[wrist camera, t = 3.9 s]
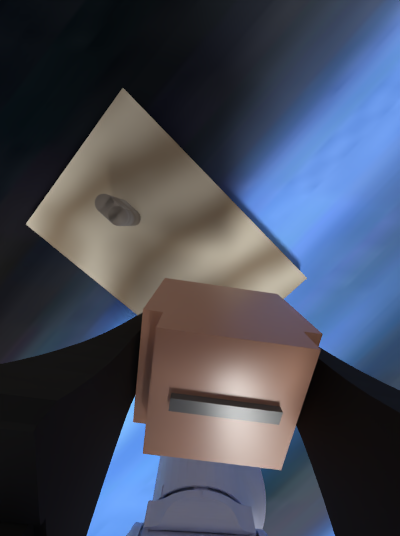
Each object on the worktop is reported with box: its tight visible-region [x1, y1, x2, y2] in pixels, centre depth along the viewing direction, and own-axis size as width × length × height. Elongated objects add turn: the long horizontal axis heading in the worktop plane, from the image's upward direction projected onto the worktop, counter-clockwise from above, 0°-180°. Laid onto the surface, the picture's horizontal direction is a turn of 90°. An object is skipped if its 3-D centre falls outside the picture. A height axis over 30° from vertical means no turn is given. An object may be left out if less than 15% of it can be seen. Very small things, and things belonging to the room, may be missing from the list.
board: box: [26, 88, 307, 315], centre depth 16 cm, size 22×14×4 cm, turn 47°
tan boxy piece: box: [133, 278, 322, 470], centre depth 8 cm, size 6×5×5 cm
